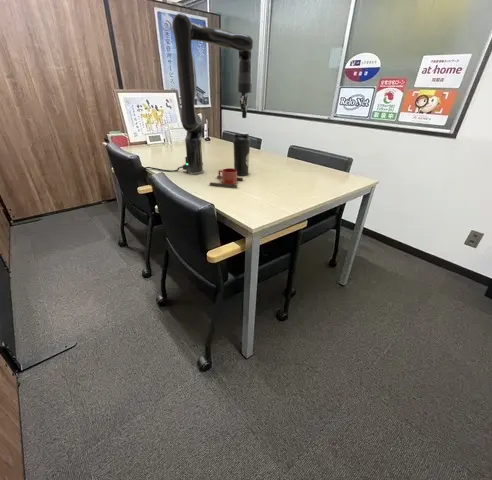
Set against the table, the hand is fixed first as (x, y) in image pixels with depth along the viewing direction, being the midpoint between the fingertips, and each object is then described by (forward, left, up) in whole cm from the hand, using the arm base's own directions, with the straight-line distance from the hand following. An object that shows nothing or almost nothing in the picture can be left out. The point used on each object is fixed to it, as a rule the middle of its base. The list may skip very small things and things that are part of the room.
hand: (244, 117), depth 151 cm
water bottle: (0, -5, -31) cm, 32 cm away
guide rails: (-4, -24, -31) cm, 39 cm away
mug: (-4, -23, -31) cm, 39 cm away
